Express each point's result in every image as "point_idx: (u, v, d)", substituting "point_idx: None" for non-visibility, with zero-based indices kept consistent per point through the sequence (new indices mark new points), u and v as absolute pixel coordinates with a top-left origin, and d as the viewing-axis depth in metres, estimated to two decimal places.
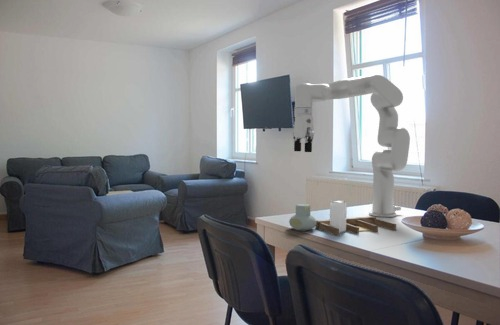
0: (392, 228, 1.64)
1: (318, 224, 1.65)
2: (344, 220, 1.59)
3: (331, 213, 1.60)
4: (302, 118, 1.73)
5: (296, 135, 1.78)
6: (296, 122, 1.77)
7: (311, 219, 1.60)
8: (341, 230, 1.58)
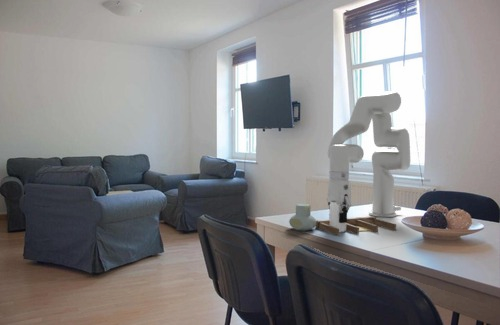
0: (392, 228, 1.64)
1: (318, 224, 1.65)
2: None
3: (331, 213, 1.60)
4: (338, 184, 1.56)
5: (330, 200, 1.62)
6: (331, 186, 1.61)
7: (311, 219, 1.60)
8: (341, 230, 1.58)
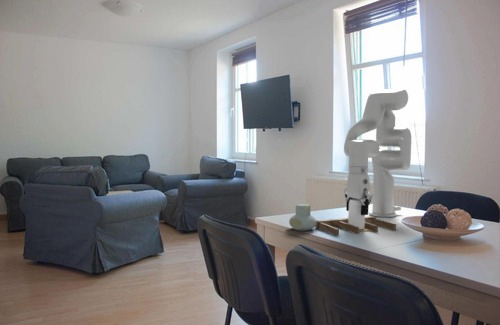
0: (392, 228, 1.64)
1: (318, 224, 1.65)
2: (363, 218, 1.62)
3: (350, 211, 1.63)
4: (358, 178, 1.60)
5: (350, 195, 1.65)
6: (350, 181, 1.64)
7: (311, 219, 1.60)
8: (360, 227, 1.62)
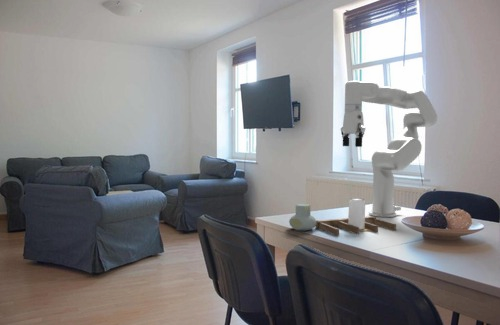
0: (392, 228, 1.64)
1: (318, 224, 1.65)
2: (363, 218, 1.62)
3: (350, 211, 1.63)
4: (353, 114, 1.80)
5: (345, 131, 1.86)
6: (346, 118, 1.85)
7: (311, 219, 1.60)
8: (360, 227, 1.62)
